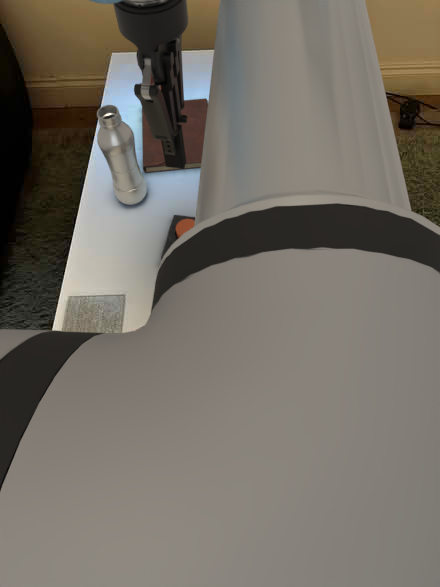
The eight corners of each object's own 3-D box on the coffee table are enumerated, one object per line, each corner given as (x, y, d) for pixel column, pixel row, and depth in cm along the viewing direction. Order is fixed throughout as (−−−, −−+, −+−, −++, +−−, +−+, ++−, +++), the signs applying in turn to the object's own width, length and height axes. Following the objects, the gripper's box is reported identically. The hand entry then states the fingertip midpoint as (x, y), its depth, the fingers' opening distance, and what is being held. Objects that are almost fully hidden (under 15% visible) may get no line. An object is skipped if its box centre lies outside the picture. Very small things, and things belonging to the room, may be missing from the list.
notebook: (207, 104, 103) (207, 96, 101) (215, 166, 93) (215, 159, 92) (142, 110, 103) (141, 102, 101) (143, 173, 93) (142, 166, 91)
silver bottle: (112, 207, 89) (82, 124, 71) (122, 182, 92) (94, 97, 75) (144, 210, 88) (121, 128, 71) (152, 185, 91) (132, 100, 74)
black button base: (205, 270, 81) (204, 258, 77) (162, 264, 82) (159, 252, 78) (215, 226, 85) (215, 213, 82) (175, 221, 86) (172, 208, 83)
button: (196, 244, 79) (195, 238, 78) (174, 241, 80) (173, 235, 78) (201, 226, 81) (200, 220, 80) (179, 223, 82) (178, 217, 80)
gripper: (168, 27, 41) (191, 200, 62) (197, -42, 48) (210, 136, 68) (91, 21, 42) (139, 194, 63) (130, -46, 49) (162, 131, 69)
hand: (176, 164), depth 65 cm, fingers closed
